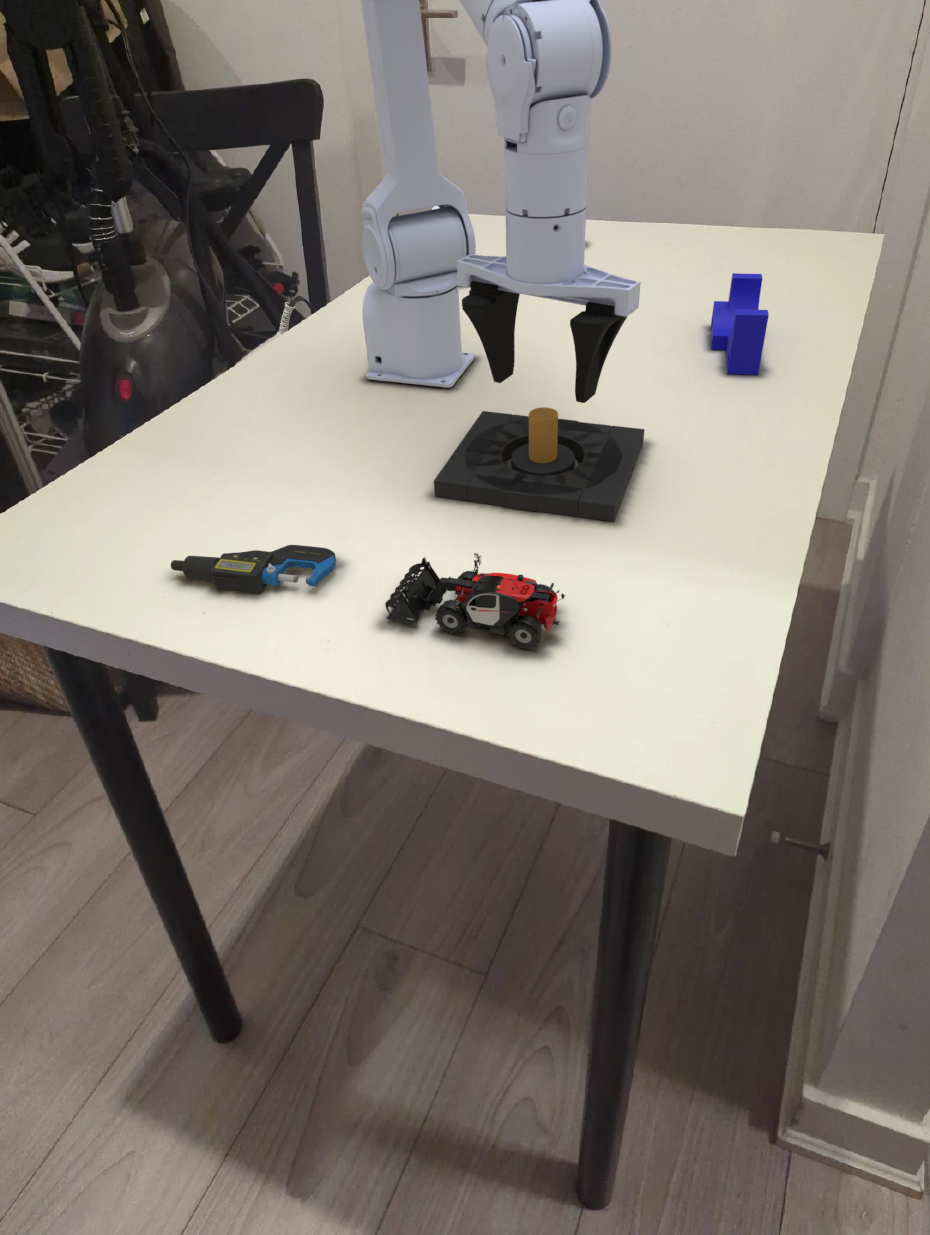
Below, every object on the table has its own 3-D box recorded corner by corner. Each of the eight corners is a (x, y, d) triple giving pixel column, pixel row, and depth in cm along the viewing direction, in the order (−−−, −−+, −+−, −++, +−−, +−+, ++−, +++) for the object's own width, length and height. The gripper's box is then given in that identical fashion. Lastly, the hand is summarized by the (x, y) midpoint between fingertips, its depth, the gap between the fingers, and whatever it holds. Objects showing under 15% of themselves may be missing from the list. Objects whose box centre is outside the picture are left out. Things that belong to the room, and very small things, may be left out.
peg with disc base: (499, 475, 74) (498, 419, 71) (531, 448, 78) (531, 394, 74) (554, 491, 72) (555, 434, 69) (585, 463, 75) (588, 407, 72)
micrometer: (339, 543, 64) (315, 583, 61) (342, 564, 66) (319, 604, 62) (192, 527, 67) (161, 565, 63) (198, 547, 68) (167, 585, 64)
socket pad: (434, 497, 72) (432, 481, 71) (483, 424, 82) (483, 410, 81) (613, 523, 68) (614, 506, 67) (643, 443, 77) (645, 428, 77)
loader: (385, 622, 60) (378, 567, 57) (412, 583, 63) (406, 529, 60) (554, 658, 56) (555, 601, 53) (573, 615, 59) (575, 559, 56)
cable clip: (710, 328, 97) (718, 273, 93) (752, 329, 96) (761, 274, 92) (711, 373, 88) (720, 314, 84) (758, 375, 87) (768, 315, 83)
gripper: (664, 204, 61) (647, 386, 69) (489, 183, 67) (494, 352, 76) (619, 231, 56) (607, 423, 65) (437, 206, 63) (448, 383, 71)
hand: (543, 387), depth 70 cm, fingers open, 7 cm apart
